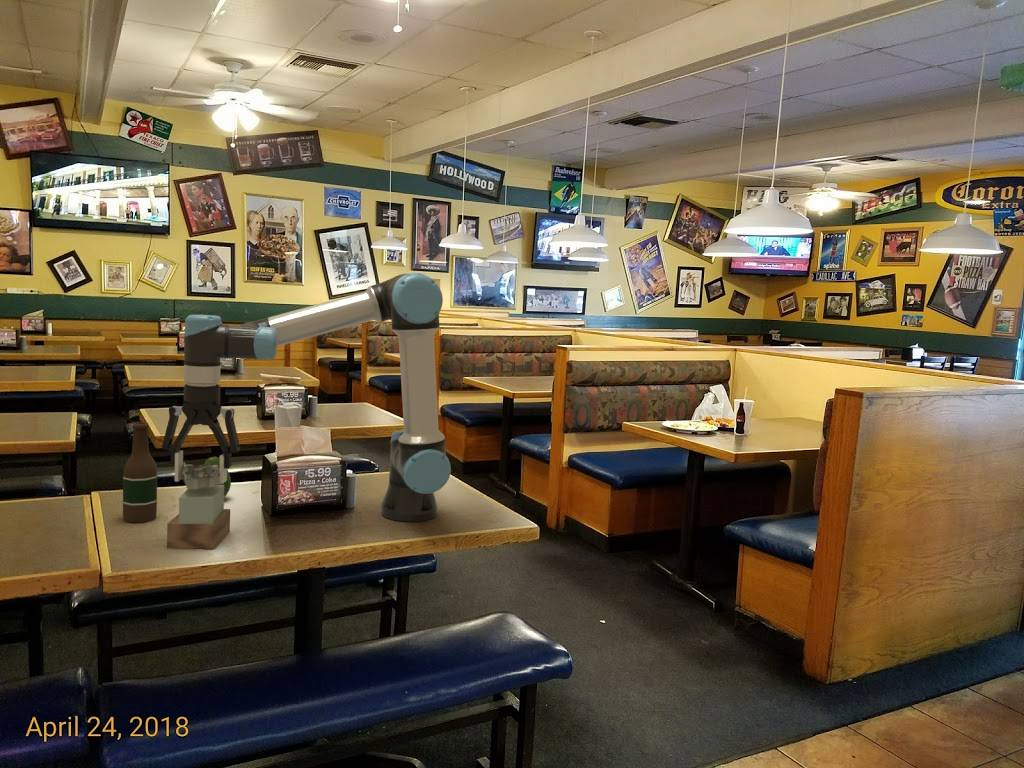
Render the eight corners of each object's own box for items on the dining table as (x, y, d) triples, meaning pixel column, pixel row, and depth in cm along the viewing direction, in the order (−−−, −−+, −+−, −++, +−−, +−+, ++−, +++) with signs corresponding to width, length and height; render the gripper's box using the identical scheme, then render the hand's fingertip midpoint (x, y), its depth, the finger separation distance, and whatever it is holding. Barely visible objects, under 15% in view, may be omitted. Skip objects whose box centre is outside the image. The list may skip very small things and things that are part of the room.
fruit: (198, 497, 198) (198, 454, 196) (228, 495, 201) (229, 453, 200) (200, 505, 191) (201, 461, 189) (232, 503, 194) (233, 459, 193)
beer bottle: (151, 511, 183) (152, 419, 180) (162, 520, 177) (163, 424, 174) (117, 516, 177) (118, 421, 174) (128, 525, 172) (128, 427, 169)
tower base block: (229, 533, 172) (230, 509, 171) (213, 551, 160) (214, 525, 159) (186, 531, 171) (186, 507, 170) (167, 549, 159) (167, 523, 159)
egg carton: (182, 478, 167) (182, 461, 166) (216, 476, 170) (216, 459, 170) (184, 490, 158) (184, 472, 157) (221, 488, 161) (221, 470, 160)
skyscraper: (267, 498, 200) (270, 399, 197) (272, 490, 208) (275, 395, 205) (299, 499, 202) (302, 401, 198) (302, 491, 210) (306, 396, 206)
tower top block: (223, 509, 171) (224, 484, 170) (212, 524, 160) (212, 498, 159) (192, 508, 170) (192, 484, 169) (178, 523, 159) (179, 497, 158)
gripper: (256, 384, 166) (254, 479, 169) (159, 378, 164) (158, 474, 167) (246, 388, 158) (244, 487, 161) (144, 383, 157) (144, 483, 160)
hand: (200, 481), depth 164 cm, fingers closed on egg carton, 9 cm apart
